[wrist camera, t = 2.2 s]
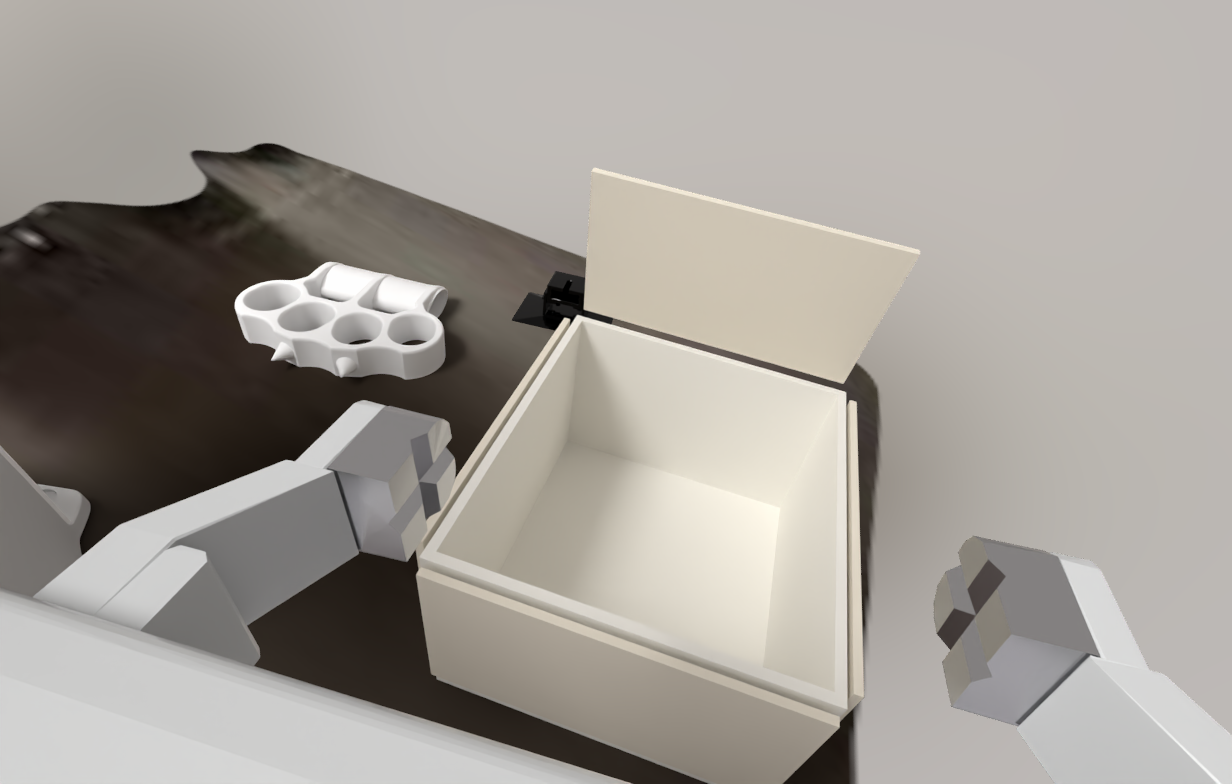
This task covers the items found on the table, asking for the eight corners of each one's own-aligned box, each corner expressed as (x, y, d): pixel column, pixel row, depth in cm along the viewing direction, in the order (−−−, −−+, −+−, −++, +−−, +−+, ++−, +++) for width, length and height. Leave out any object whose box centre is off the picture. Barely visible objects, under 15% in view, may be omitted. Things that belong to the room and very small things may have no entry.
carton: (419, 686, 33) (396, 564, 25) (555, 436, 48) (568, 312, 40) (767, 821, 30) (864, 733, 22) (793, 511, 45) (856, 395, 38)
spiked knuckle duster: (479, 314, 60) (414, 410, 49) (308, 274, 61) (207, 360, 50) (478, 285, 57) (410, 379, 46) (301, 245, 58) (194, 327, 47)
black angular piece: (495, 325, 59) (495, 285, 56) (518, 288, 64) (520, 250, 61) (617, 354, 58) (624, 315, 55) (631, 314, 64) (638, 277, 61)
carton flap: (591, 171, 32) (593, 167, 32) (583, 309, 40) (585, 305, 40) (920, 254, 30) (920, 250, 30) (843, 383, 37) (843, 379, 38)
